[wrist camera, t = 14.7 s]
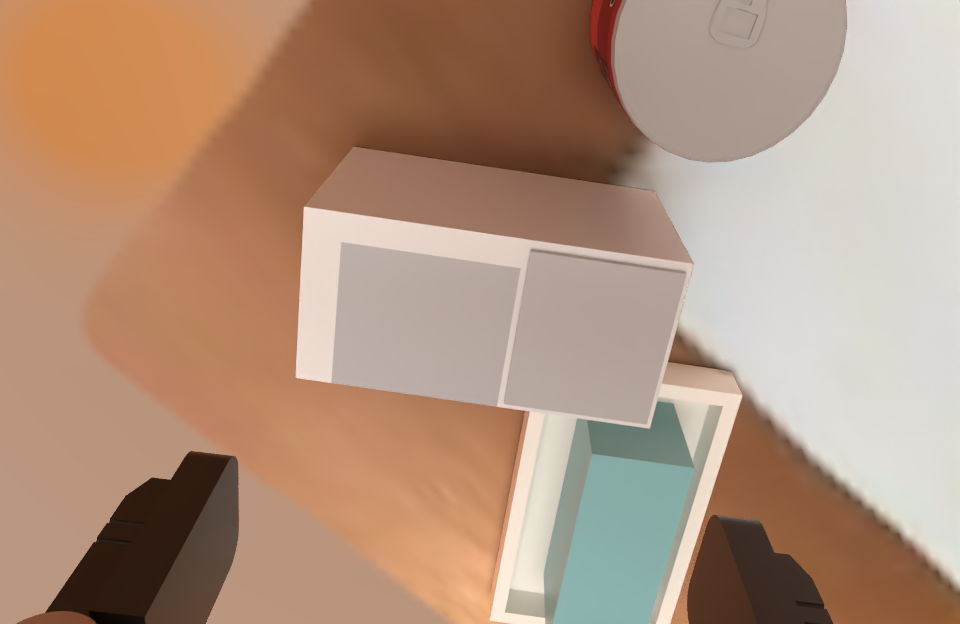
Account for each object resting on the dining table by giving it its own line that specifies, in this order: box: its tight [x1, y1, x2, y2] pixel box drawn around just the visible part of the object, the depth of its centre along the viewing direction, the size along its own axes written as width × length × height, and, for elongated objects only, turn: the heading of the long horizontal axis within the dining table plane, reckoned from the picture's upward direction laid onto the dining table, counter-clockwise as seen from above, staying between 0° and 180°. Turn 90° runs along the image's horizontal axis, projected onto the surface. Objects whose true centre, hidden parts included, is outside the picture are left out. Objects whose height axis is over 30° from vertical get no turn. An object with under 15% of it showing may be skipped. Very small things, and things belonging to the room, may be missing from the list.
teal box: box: [544, 401, 695, 624], centre depth 44 cm, size 5×13×7 cm, turn 172°
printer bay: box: [296, 147, 694, 429], centre depth 37 cm, size 15×8×10 cm, turn 82°
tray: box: [490, 362, 742, 624], centre depth 46 cm, size 11×18×3 cm, turn 172°
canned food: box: [590, 0, 847, 162], centre depth 32 cm, size 8×8×11 cm
